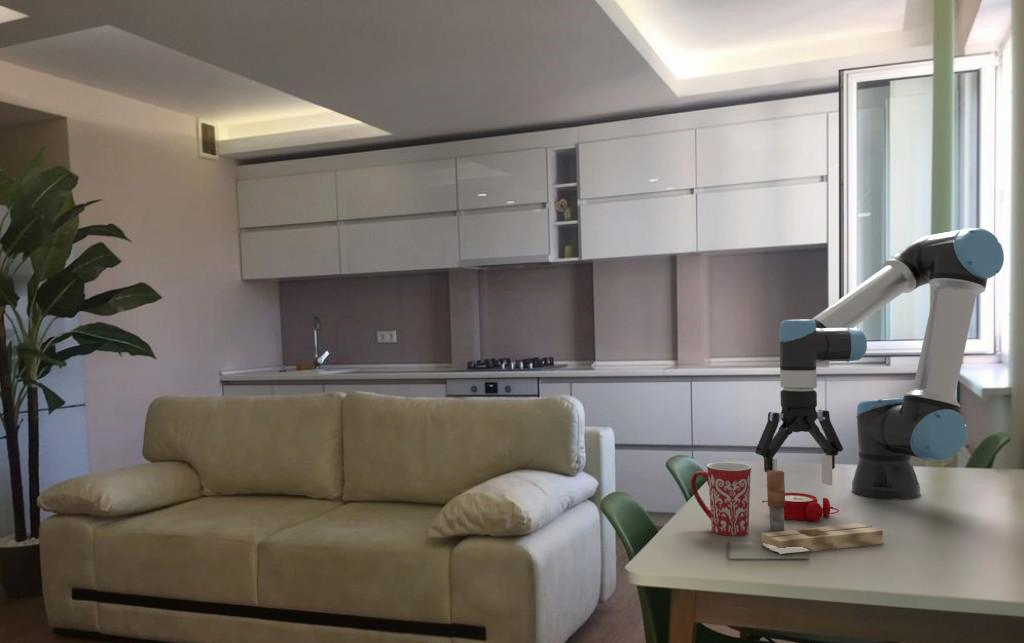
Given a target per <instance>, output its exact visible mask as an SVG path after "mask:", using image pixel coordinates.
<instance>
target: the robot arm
mask: <svg viewBox="0 0 1024 643" xmlns="http://www.w3.org/2000/svg"><path fill="white" fill-rule="evenodd" d="M1004 255H1005V252H1004V249H1003V246H1002V244H1001V243H1000V242H999V239H998V238H997V236H996V235H994V234H993V233H992V231H990V230H988V229H985V228H981V227H980V228H979V227H975V228H974V227H973V228H961V229H958V230H953V231H952V230H951V231H948V232H947V231H946V232H942V233H933V234H929V235H926V236H923V237H921V238H919V239H917V240H915V241H914V242H911V243H910V244H908V245H907V246H906V247H903V248H902V249H901V250H899V251H898V252H897V253H895V254H894V255H892V256H890V257H889V258H888V259H886V260H885V261H884V262H883V264H882V267H881V269H880V270H879V271H877V272H876V273H874V274H873V275H871V276H870V277H869V278H868V279H865V280H864V281H863V282H862V283H860V284H858V286H856V287H855V288H854V289H852V290H850V291H849V292H848V293H846V294H845V295H843V296H842V297H841V298H839V299H838V300H836V301H835V302H834V303H832V304H831V305H829V306H827V308H825V309H824V310H822V311H821V312H820V313H818V314H817V315H815V316H814V317H812V318H811V319H809V318H807V319H806V318H805V319H784V320H782V321H781V322H780V325H779V338H778V342H779V367H780V368H779V369H780V371H779V373H780V374H779V375H780V376H779V377H780V378H779V379H780V381H779V382H780V388H782V390H781V391H779V392H780V406H781V412H780V413H779V412H775V411H769V412H768V414H767V422H766V424H765V427H764V429H763V431H762V433H761V436H760V439H759V441H758V444H757V446H756V448H755V452H754V453H755V454H756V455H759V456H761V457H763V470H764V473H767V471H771V470H777V471H778V459H777V458H776V457H775V455H776V454H777V453H778V451H779V450H780V448H781V447H782V446H783V444H784V443H785V441H786V440H787V438H788V437H789V435H792V434H793V433H800V432H802V433H803V432H804V433H807V432H808V433H809V434H810V435H811V437H812V438H813V439H814V441H815V442H816V443H817V444H818V445H819V447H820V448H821V449H822V451H823V452H824V453H821V455H820V456H821V457H820V458H821V459H820V461H821V462H820V463H821V484H824V485H827V486H833V470H834V469H835V468H836V465H835V464H836V463H835V461H836V457H835V456H838V455H839V453H841V452H843V450H844V448H843V445H842V443H841V441H840V438H839V436H838V434H837V432H836V430H835V428H834V426H833V423H832V421H831V417H830V411H829V410H825V409H819V410H816V409H817V408H816V407H817V406H818V394H817V391H816V390H815V389H816V388H817V386H818V384H817V383H818V381H817V380H818V379H817V363H819V362H820V363H821V362H831V363H833V362H834V363H835V362H836V363H837V362H847V363H849V362H855V361H856V362H857V361H860V360H862V359H863V358H864V356H865V355H866V352H867V350H868V346H867V345H868V341H867V337H866V334H865V333H864V331H862V330H861V329H859V328H857V326H858V325H860V324H861V323H863V322H864V321H865V320H867V319H868V318H870V317H871V316H872V315H874V314H875V313H877V312H878V311H879V310H881V309H882V308H884V307H885V306H886V305H888V304H889V303H890V302H892V301H893V300H895V299H896V298H897V297H899V296H900V295H901V294H909V293H911V292H914V290H916V289H918V288H919V287H921V286H925V285H930V287H931V288H932V289H933V295H932V299H931V303H930V304H931V305H930V308H929V314H928V318H927V321H926V322H927V323H926V327H925V332H924V336H923V341H922V346H921V352H920V356H919V359H918V364H917V369H916V373H915V378H914V382H913V386H912V387H913V388H912V389H911V390H910V391H907V392H905V393H904V394H903V397H901V398H900V397H899V398H883V399H870V400H861V401H860V402H858V404H857V409H856V422H857V424H856V425H857V442H858V447H857V448H858V461H857V465H856V468H855V472H854V476H853V479H852V481H851V491H852V492H853V493H855V494H857V495H861V496H865V497H870V498H879V499H890V500H891V499H893V500H894V499H895V500H897V499H900V500H901V499H912V498H917V497H919V496H921V486H920V485H921V484H920V483H919V480H918V477H917V475H916V472H915V469H914V466H913V463H912V457H914V458H918V459H922V460H926V461H937V462H938V461H942V462H943V461H946V460H950V459H951V458H952V457H954V456H957V454H959V453H960V451H961V450H962V449H963V448H964V446H965V444H966V442H967V439H968V433H969V432H968V426H967V425H966V421H965V418H964V417H963V416H962V415H961V414H960V411H961V405H960V403H959V402H958V400H957V398H956V392H957V388H958V384H959V378H960V374H961V370H962V369H961V368H962V365H963V359H964V355H965V351H966V346H967V345H966V344H967V341H968V337H969V331H970V326H971V323H972V317H973V313H974V307H975V303H976V298H977V297H978V296H979V295H981V294H982V293H984V292H985V291H986V288H987V283H988V279H991V278H992V277H995V276H996V275H997V274H999V273H1000V271H1001V270H1002V268H1003V265H1004V260H1005V256H1004ZM816 420H817V421H818V422H819V424H820V427H821V429H822V431H823V433H824V434H823V433H822V431H821V430H820V427H819V426H818V425H817V423H816ZM781 421H782V423H781V424H780V426H779V423H780V422H781ZM777 429H778V431H777ZM775 433H776V434H775ZM824 435H825V436H824Z"/></svg>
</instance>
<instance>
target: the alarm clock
mask: <svg viewBox="0 0 1024 643" xmlns="http://www.w3.org/2000/svg"><path fill="white" fill-rule="evenodd" d="M761 502H762V503H768V500H762V501H761ZM831 510H835V512H834V511H832V512H831ZM839 512H840V509H838V508H836V507H833V506H831V503H830V500H829V498H827V497H822V505H821V504H820V503H818V498H817V496H815V495H812V494H808V493H802V492H785V507H784V520H785V519H786V520H796V521H799V520H800V521H804V520H805V521H806V520H807V521H809V522H810V523H811V522H812V523H814V522H819V521H821V519H822V517H823V518H827V517H829V516H830V515H833V514H837V513H839Z"/></svg>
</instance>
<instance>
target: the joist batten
mask: <svg viewBox="0 0 1024 643" xmlns="http://www.w3.org/2000/svg"><path fill="white" fill-rule="evenodd" d="M883 536H884V533H883V530H882V529H879V528H876V527H874V526H872V525H867V524H865V523H862V522H860V523H858V522H857V523H848V524H838V525H830V526H829V525H828V526H819V527H810V528H809V527H808V528H801V529H799V528H798V529H789V530H784V531H777V532H772V531H769V532H761V544H762V543H765V544H770V545H773V546H776V547H778V548H786V547H803V548H806V549H808V550H809V551H810V552H820V551H829V550H838V549H849V548H855V547H856V548H857V547H865V546H874V545H876V546H877V545H883V544H884V537H883ZM810 552H809V553H810Z"/></svg>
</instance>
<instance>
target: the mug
mask: <svg viewBox="0 0 1024 643" xmlns="http://www.w3.org/2000/svg"><path fill="white" fill-rule="evenodd" d="M706 468H707V469H706V470H707V471H705V470H704V471H703V470H698V471H696V472H695V473H693V474H692V476H691V479H690V485H691V486H690V487H691V492H692V495H693V496H694V498H695V500H696V501H697V503H698V506H699V507H700V508H701V509H702V511H703V512H704V513H705V515H706V516H707V517H708V518H709V520H710V522H711V523H710V524H711V531H712V532H713V533H715V534H718V535H722V536H728V537H729V536H730V537H734V536H738V537H739V536H744V535H746V534H748V533H749V530H750V529H749V525H750V499H751V497H750V493H751V471H752V466H751V465H749V464H747V463H741V462H727V461H724V462H723V461H720V462H712V463H708V464H707V465H706ZM698 476H702V477H703V478H704V479H705V480H706V483H707V486H708V491H709V506H710V508H709V507H708V506H707V505H706V503H705V502H704V500H703V499H702V497H701V495H700V494H699V491H698V489H697V482H696V481H697V478H698Z"/></svg>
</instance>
